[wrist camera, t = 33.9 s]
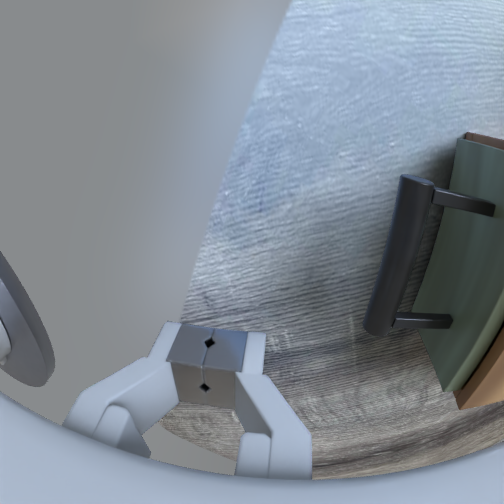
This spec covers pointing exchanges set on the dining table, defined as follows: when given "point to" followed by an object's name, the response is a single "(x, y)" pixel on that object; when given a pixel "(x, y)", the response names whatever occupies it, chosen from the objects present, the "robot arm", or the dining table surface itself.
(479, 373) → the cabinet
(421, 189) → the drawer
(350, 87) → the dining table surface
